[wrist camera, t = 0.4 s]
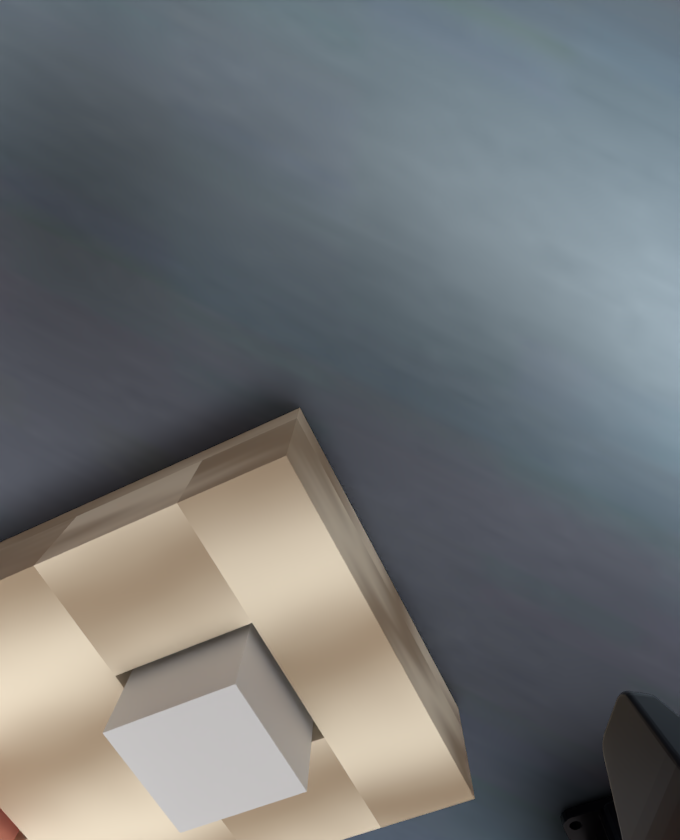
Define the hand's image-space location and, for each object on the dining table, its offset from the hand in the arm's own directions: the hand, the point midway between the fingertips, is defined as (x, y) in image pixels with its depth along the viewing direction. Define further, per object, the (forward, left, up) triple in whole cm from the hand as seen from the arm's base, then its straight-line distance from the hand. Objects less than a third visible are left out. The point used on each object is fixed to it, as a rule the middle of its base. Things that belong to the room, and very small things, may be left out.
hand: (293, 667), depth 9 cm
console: (-7, +13, -13) cm, 20 cm away
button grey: (-7, +7, -10) cm, 14 cm away
